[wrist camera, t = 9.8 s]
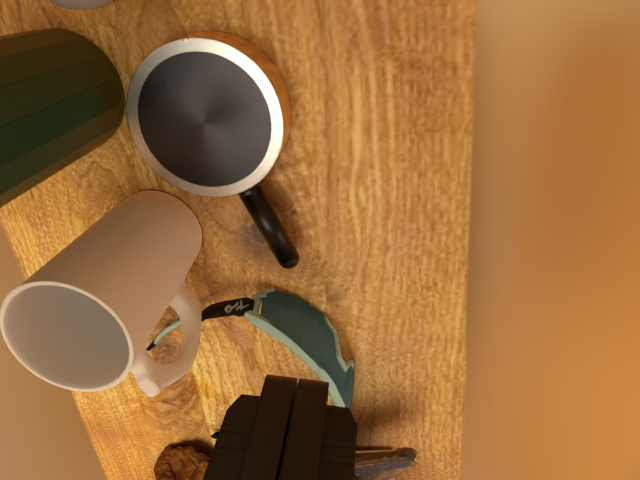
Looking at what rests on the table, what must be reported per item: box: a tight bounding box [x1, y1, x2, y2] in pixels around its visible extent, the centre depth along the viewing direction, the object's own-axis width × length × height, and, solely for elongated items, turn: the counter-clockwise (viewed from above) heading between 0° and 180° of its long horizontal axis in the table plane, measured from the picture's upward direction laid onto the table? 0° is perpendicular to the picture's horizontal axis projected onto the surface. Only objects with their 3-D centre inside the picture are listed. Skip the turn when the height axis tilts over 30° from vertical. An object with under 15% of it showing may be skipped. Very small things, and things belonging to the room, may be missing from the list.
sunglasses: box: [147, 288, 355, 439], centre depth 39 cm, size 14×15×5 cm
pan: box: [126, 31, 299, 269], centre depth 32 cm, size 15×9×3 cm, turn 26°
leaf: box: [154, 446, 210, 480], centre depth 46 cm, size 6×7×2 cm
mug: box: [0, 190, 202, 398], centre depth 31 cm, size 10×7×12 cm, turn 37°
